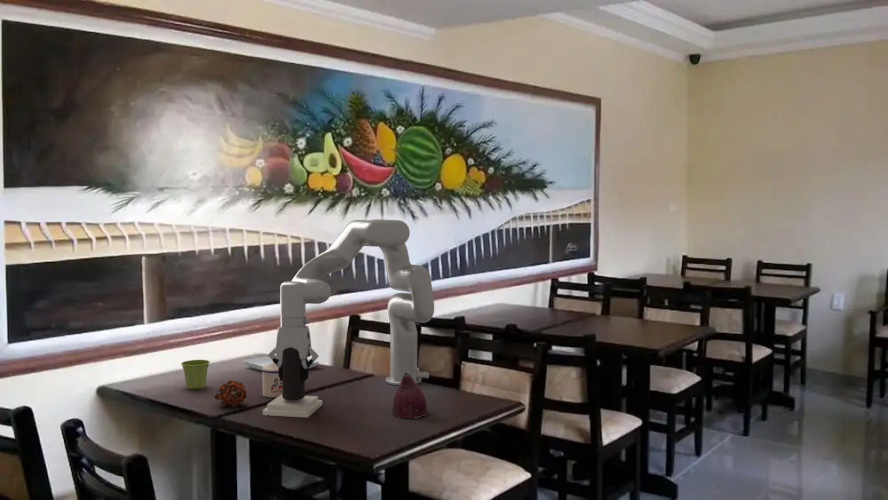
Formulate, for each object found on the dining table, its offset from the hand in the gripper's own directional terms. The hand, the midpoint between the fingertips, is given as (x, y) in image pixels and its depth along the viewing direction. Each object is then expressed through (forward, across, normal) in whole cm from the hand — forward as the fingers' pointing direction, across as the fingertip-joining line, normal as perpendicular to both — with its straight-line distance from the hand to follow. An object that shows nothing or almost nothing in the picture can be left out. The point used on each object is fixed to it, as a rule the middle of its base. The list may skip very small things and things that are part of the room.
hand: (293, 379), depth 235 cm
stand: (+9, 0, 0) cm, 9 cm away
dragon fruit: (+10, +21, -2) cm, 23 cm away
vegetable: (+10, -36, -2) cm, 37 cm away
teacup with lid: (+10, +11, -18) cm, 23 cm away
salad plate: (+10, +24, -54) cm, 60 cm away
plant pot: (+10, +42, -21) cm, 48 cm away
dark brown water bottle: (+6, 0, 0) cm, 6 cm away
